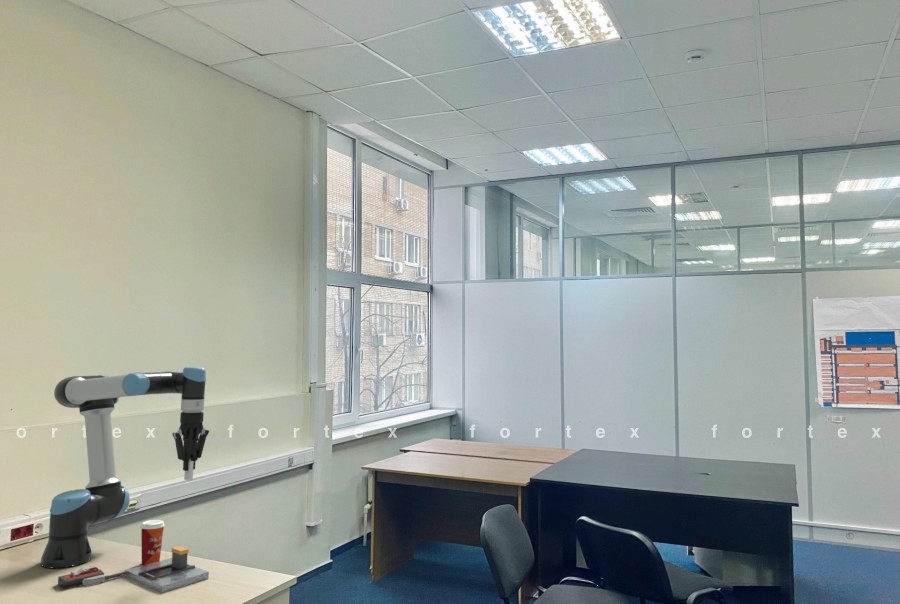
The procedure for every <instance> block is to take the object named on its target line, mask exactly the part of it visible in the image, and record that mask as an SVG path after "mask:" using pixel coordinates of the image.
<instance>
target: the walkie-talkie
mask: <svg viewBox="0 0 900 604" xmlns="http://www.w3.org/2000/svg"><path fill="white" fill-rule="evenodd" d="M121 576H125V571H124V572H119V573H114V574H110V575H105V572H104V571H103V570H102V569H100V568H98V567H97V566H96V565H91V566H86V567H81V568H79V570H78V571H76V572H75V571H73V570H72V571H70V573H69V574H68V573H67V574H64V575H60V576H58V578H57V580H58V581H57V586H58V587H59V589H63V590H67V589H69V590H70V589H73V588H76V587H80V585H81V586H83V585H87V586H94V585H93V584H95V585H98V584H97V583H99V584H102V583H101V582H104V583H106V581H109V579H114V578H115V579H116V578H119V577H121Z"/></svg>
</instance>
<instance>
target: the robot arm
mask: <svg viewBox="0 0 900 604" xmlns="http://www.w3.org/2000/svg"><path fill="white" fill-rule="evenodd" d="M206 382H207V377H206V369H205V368H204V367H195V366H194V367H193V366H189V367H188V366H187V367H184V368H183V371H182V372H177V371H160V372H132V373H128V374H120V375H111V376H109V375H100V374H99V375H79V376H78V375H77V376H76V375H75V376H68V377H65V378H64V379H61V380H60V381H58V383H57V384H56V386H55V388H54V393H53V394H54V398H55V400H56V402H57V403H58V404H59V405H61V407H62V406H63V407H65V408H71V409H78V408H79V410H78V411H79V414H80V416H83V418H84V424H85V425H84V427H85V438H86V439H85V440H86V451H87V465H88V466H87V467H88V478H89V481H88V483H87V485H86V486H85V488H79V489H77V488H76V489H74V490H71V489H70V490H67V491H64V492H61V493H59V494H57V495H55V496H54V497H53V498H52V500H51V504H50V509H49V513H50V514H49V525H48V526H49V528H48V541H47V544H46V546H45V548H44V550H43V552H42V554H41V555H42V556H41V558H40V566H41V565H43V566H45V567H53V568H52V569H59V568H58V567H65V568H68V567H67V566H72V565H76V566H78V565H77V564H80V565H82V564H81V563H83V564H85V563H84V562H86V561H88V560H89V559H90V560H91V559H92V556H93V553H92V548H91V543H90V541H89V538H88V529H89V526H93V525H96V524H101V523H104V522H108V521H112V520H115V519H116V518H120V517H121V516H123V514H125V512H126V511H127V509H128V508H129V505H130V493H129V490H128V489H127V487H126V486H124V485H122V482H121V479H119V478H117V475H116V461H115V453H114V452H115V451H114V439H113V429H112V415H111V413H112V412H113V411H114V410H116V408H115V405H116V404H117V403H118V402H119V398H124V397H134V396H135V397H137V396H145V395H146V396H147V395H148V396H149V395H161V394H181V400H180V401H181V402H180V411H182V412H180V419H179V420H180V421H179V422H180V425H179V427H178V430H177V431H175V432H172V434H171V435H172V437H173V438H174V442H175V443H174V444H175V449H176V454H177V460H180V461H182V466H183V467H182V471H183V472H184V479H183V480H185V481H189V482H190V481H193V479H194V470H195V469H196V461H198V459H201V458H202V455H203V451H204V447H205V443H206V439H207V436H208V435H209V433H210V430H209V429H205V428H204V425H203V422H204V416H205V413H204V410H205V395H206ZM90 560H89V561H90ZM89 561H88V562H89ZM86 563H87V562H86ZM45 567H44V568H45ZM72 567H73V566H72Z"/></svg>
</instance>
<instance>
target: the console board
mask: <svg viewBox="0 0 900 604" xmlns="http://www.w3.org/2000/svg"><path fill="white" fill-rule="evenodd" d="M124 572H125V575H124V577H125V578H128V579H130V580H132V581H134V582H136V583H138V584H142V585H144V586H146V587H148V588H150V589H153V590H155V591H158V592H159V593H161V594H162V593H165V592H168V591H172V590H175V589H178V587H179V588H182V587H185V586H188V585H191V584H193V583H194V584H195V583H197V582H200V581H204V580H207V579H209V575H210V574H209V573H210V572H209V571H208V570H204V569H202V568H200V567H197V566H196V565H193V564H188V563H187V567H185V568H182V569H177V568H174V567H172V557H169V558H166V559H163V560H160V561H158V562H155V563H151V564H147V565H144V566H143V565H140V566H137V567H133V568H128V569H125V571H124ZM181 586H182V587H181Z"/></svg>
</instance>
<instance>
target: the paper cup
mask: <svg viewBox="0 0 900 604" xmlns="http://www.w3.org/2000/svg"><path fill="white" fill-rule="evenodd" d="M165 526H166V524H165V521H164V520H162V519H148V520H145V521H142V523H141V526H140V528H141V566H144V565H147V564H151V563H155V562H158V561H161V554H162V553H161V552H162V545H163V536H164V527H165Z"/></svg>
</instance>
